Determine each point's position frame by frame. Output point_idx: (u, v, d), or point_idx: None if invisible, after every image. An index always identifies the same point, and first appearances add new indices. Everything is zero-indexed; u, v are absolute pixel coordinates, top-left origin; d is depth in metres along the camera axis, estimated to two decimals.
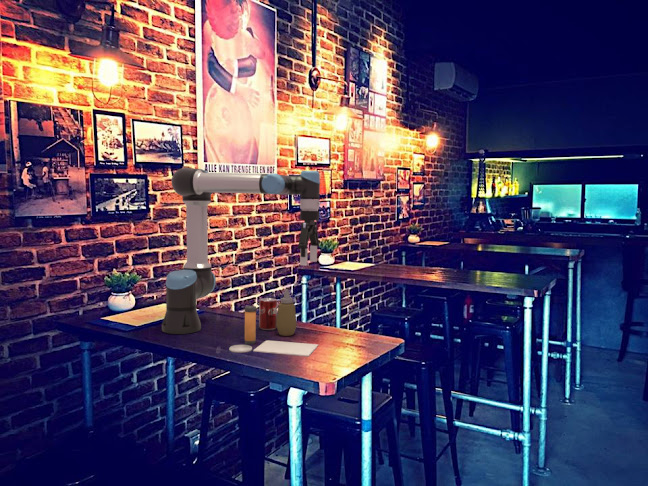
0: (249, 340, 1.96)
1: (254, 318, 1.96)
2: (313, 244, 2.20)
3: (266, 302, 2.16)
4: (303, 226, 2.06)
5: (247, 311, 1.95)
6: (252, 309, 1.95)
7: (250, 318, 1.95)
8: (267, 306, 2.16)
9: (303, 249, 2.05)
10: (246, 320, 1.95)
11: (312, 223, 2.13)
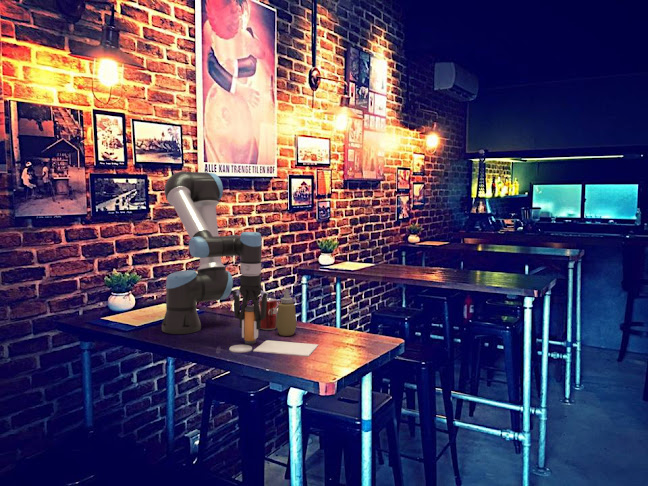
0: (249, 340, 1.96)
1: (254, 318, 1.96)
2: None
3: None
4: None
5: (247, 311, 1.95)
6: (252, 309, 1.95)
7: (250, 317, 1.95)
8: (267, 306, 2.16)
9: None
10: (246, 320, 1.95)
11: (252, 286, 1.95)
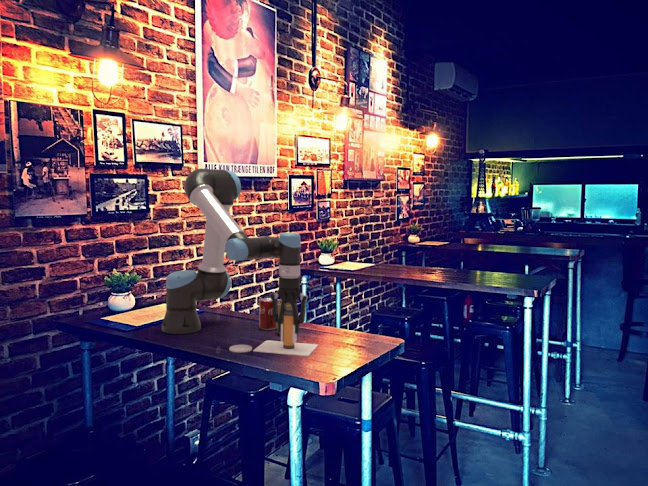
0: (288, 345, 1.89)
1: (293, 322, 1.90)
2: None
3: (266, 302, 2.16)
4: None
5: (286, 315, 1.88)
6: (292, 313, 1.88)
7: (289, 321, 1.88)
8: (267, 306, 2.16)
9: None
10: (285, 324, 1.89)
11: (291, 288, 1.88)
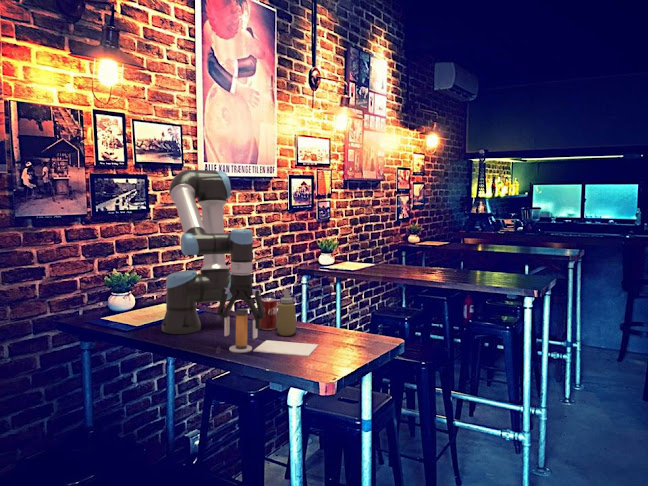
0: (240, 345, 1.87)
1: (245, 322, 1.87)
2: None
3: (266, 302, 2.16)
4: None
5: (238, 315, 1.86)
6: (243, 312, 1.86)
7: (241, 321, 1.86)
8: (267, 306, 2.16)
9: None
10: (237, 324, 1.87)
11: (241, 287, 1.86)
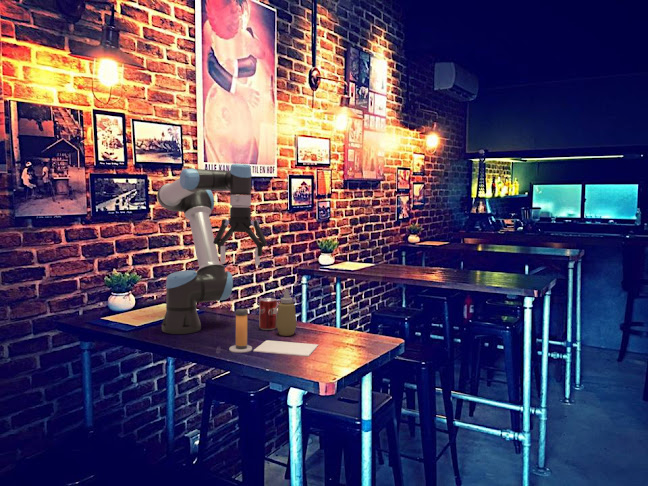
0: (240, 345, 1.87)
1: (245, 322, 1.87)
2: None
3: (266, 302, 2.16)
4: None
5: (238, 315, 1.86)
6: (243, 312, 1.86)
7: (241, 321, 1.86)
8: (267, 306, 2.16)
9: None
10: (237, 324, 1.87)
11: (240, 221, 1.96)
